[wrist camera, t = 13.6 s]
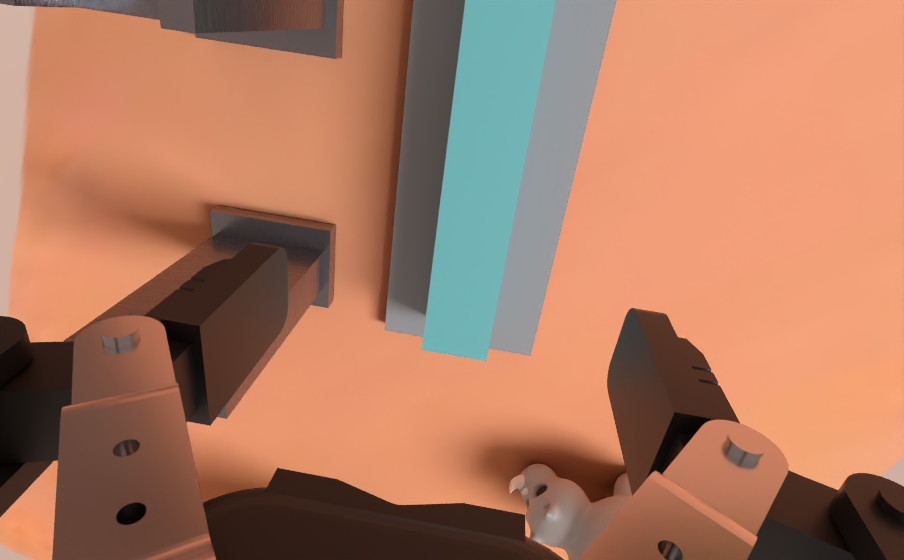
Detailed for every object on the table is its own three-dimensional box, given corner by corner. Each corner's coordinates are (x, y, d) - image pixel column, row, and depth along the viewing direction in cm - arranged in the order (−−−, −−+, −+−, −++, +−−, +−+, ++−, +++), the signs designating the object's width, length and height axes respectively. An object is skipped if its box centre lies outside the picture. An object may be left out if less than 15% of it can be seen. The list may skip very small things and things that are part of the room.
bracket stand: (198, -81, 24) (-72, -167, 13) (345, -60, 24) (195, -129, 13) (224, 280, 33) (73, 413, 22) (333, 300, 33) (237, 444, 22)
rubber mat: (428, -131, 23) (425, -136, 22) (638, -102, 22) (642, -106, 22) (387, 323, 33) (384, 330, 32) (530, 348, 33) (530, 355, 32)
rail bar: (483, -83, 22) (477, -100, 19) (565, -72, 22) (572, -87, 19) (431, 317, 31) (421, 349, 28) (489, 327, 31) (486, 361, 28)
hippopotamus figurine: (555, 404, 38) (512, 473, 30) (720, 506, 34) (716, 611, 27) (517, 473, 41) (469, 550, 33) (664, 572, 37) (647, 683, 30)
